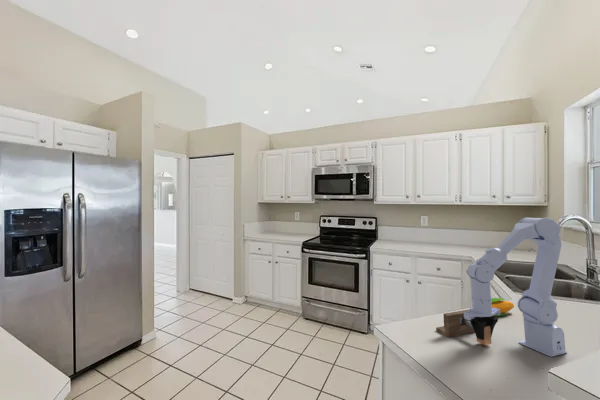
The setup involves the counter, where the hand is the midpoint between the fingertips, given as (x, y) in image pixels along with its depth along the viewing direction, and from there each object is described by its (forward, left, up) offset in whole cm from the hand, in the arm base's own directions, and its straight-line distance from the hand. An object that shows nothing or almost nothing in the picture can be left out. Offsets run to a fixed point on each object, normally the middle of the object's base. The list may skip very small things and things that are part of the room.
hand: (483, 337), depth 89 cm
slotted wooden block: (+11, 0, -2) cm, 11 cm away
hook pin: (+5, 0, -2) cm, 5 cm away
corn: (+18, -30, -3) cm, 35 cm away
